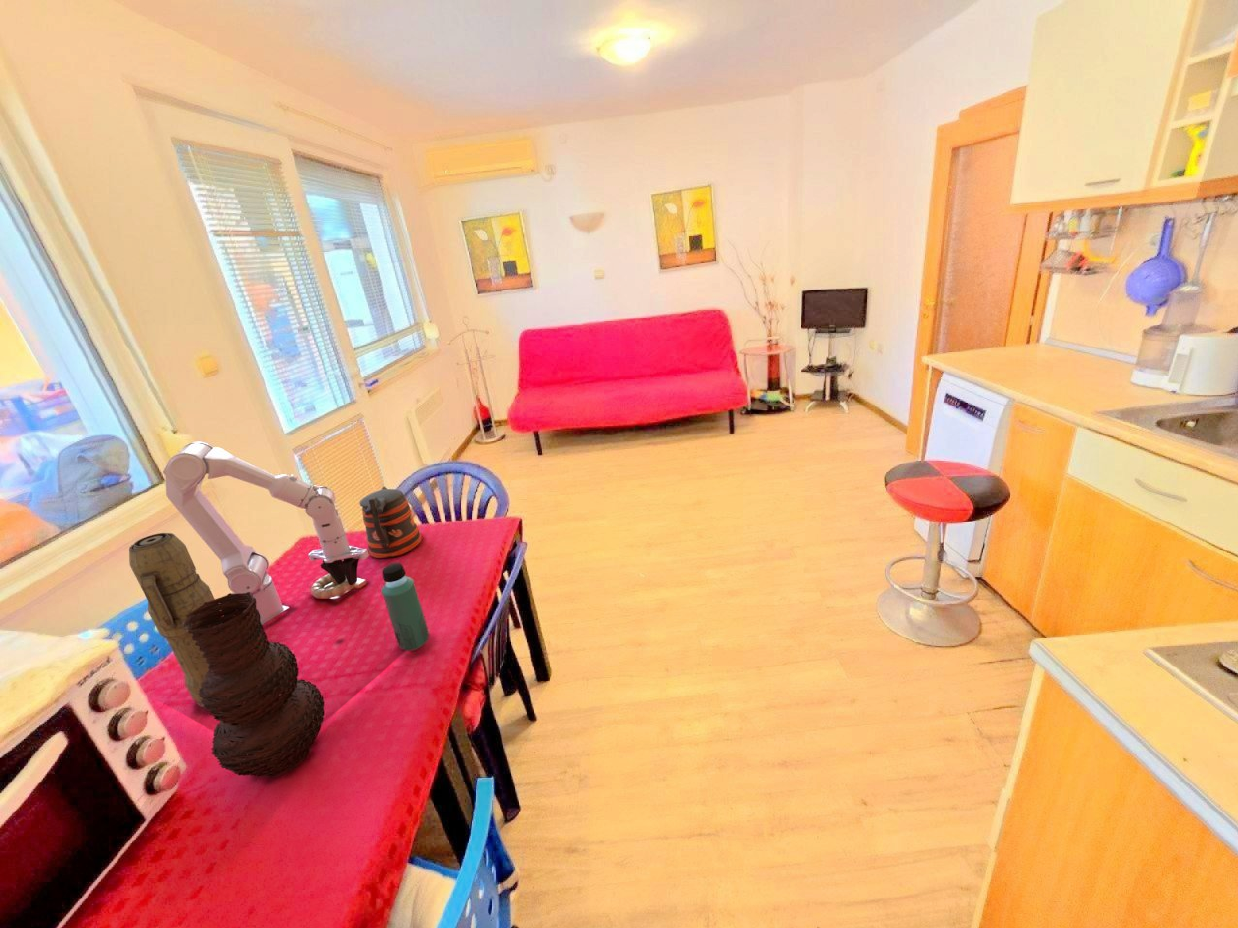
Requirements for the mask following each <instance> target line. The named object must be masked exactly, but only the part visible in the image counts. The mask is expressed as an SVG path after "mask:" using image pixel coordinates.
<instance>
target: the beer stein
mask: <svg viewBox="0 0 1238 928" xmlns="http://www.w3.org/2000/svg"><path fill="white" fill-rule="evenodd" d="M359 506H360V507H361V513H362V520H363V525H364V526H365V533H366V545H367V548H368V554H369V555H370V556H371V557H373V558H376V559H388V558H395V557H397V556H398V557H399V556H402V555H405V554H406V553H408V552H411V551H413V550H414V549H416V548H417V547H418V546H419V545H420V543H421V542H422V535H421V532H420V529H419V527H418V525H417V523H416V522H415V520H414V517H413V514H412V509H411V506H410V504H409V502H408V498H407V497H406V496H405V494H404V493H403V491H402V490H400V489H394V488H387V487H386V486H383V487H382V488H381V489H380V490H377V491H374V492H372V493H370V494H368V495H366V496H364V497H362V498H361V499H360V500H359Z"/></svg>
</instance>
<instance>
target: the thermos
mask: <svg viewBox="0 0 1238 928" xmlns="http://www.w3.org/2000/svg"><path fill="white" fill-rule="evenodd" d="M128 561H129V567H130V568H131V571H132V573H133V574H134V577H135V578H136V580H137V582H138V584H139V586H140V588H141V589H142V590H141V591H142V592H143V594H144V596H145V598H146V600H147V612H148V614H149V616H150V618H151V620H152V622H153V624H154V626H155V628H156V629H157V632H158V633H159V635H160V636H161V637H162V638H165V639H166V641H167V643H168V645H169V647H170V649H171V651H172V653H173V655H174V657H175V659H176V660H177V663H178V664H179V667H180V668H181V670H182V672H183V674H184V685H185V687H186V689H187V691H188V693H189V694H190V696H191V698H192V700H193V701H194V702H196V704H197V705H198V706H199V707H200V708H204V707H203V706H204V704H202V702H201V701H202V697H200V695H199V694H198V693H200V692H199V690H200V689H201V688H202V687H201V683H202V682H203V680H204V679H205V677H206V676H205V675H206V673H207V672H208V670H209V669H208V667H209V664H207V663H206V661H207V659H206V658H203V657H202V655H203V654H204V652H201V651H200V650H199V649H200V647H199V646H196V645H195V644H196V641H195V640H192V636H193V634H192V633H191V634H190V633H188V631H189V630H187V629H184V628H181V627H180V626H182V624H183V622H184V620H185V618H186V617H185V615H188V614H190V613H191V612H193V611H194V610H196V609H197V608H199V607H200V606H202V605H203V604H204V603H205V602H209V601H212V600H215V599H216V598H215V597H214V594H213V592H212V590H211V588H210V586H209V585H208V584H207V583H206V582H205V581H204V580H203V579H201V576H200V574H199V573H197V568H196V566H195V563H194V561H193V559H192V556H191V554H190V552H189V550H188V547H187V546H186V544H185V543H184V542H183V541H182V540H181V539H180V538H179V537H177V536H176V535H175V533H171V532H159V533H154V534H150V535H148V536H145V537H142V538H140V539H138V540H136V541H134V543H133V544H131V545H130V546H129V547H128ZM193 616H194V615H193ZM201 622H202V621H201ZM197 623H198V622H197ZM191 625H192V624H191ZM188 626H189V625H188ZM209 626H210V625H209ZM204 627H205V626H204ZM204 627H203V628H204ZM186 628H187V626H186ZM199 629H200V628H199ZM196 630H197V629H196ZM211 671H212V670H211Z"/></svg>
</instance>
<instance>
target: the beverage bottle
mask: <svg viewBox="0 0 1238 928" xmlns="http://www.w3.org/2000/svg"><path fill="white" fill-rule="evenodd" d="M381 574H382V580H383V581H384V582H385V584H384V585H383V586H382V588H381V595H382V597H383V600H384V603H385V606H386V611H387V614H388V617H389V621H390V622H389V623H390V624H391V627H392V631H393V633H394V636H395V637H394V638H395V639H396V644H397V645H398V647H399V648H400V649H401V650H402V651H406V652H407V651H408V652H409V651H414V650H417V649H418V650H419V649H420V648H421V647H423V646H425V644H426V643H428V641H429V638H430V632H429V627H428V624H427V620H426V616H425V613H424V609H423V606H422V603H421V601H420V597H419V595H418V591H417V588H416V585H415V581H414V579H413V578H412V577H410V576H407V575H406V570H405V568H404V566H403V564H402V563H400V562H394V563H393V562H392V563H390V564H388V565H386V566H384V568H383V569H382V570H381Z"/></svg>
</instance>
